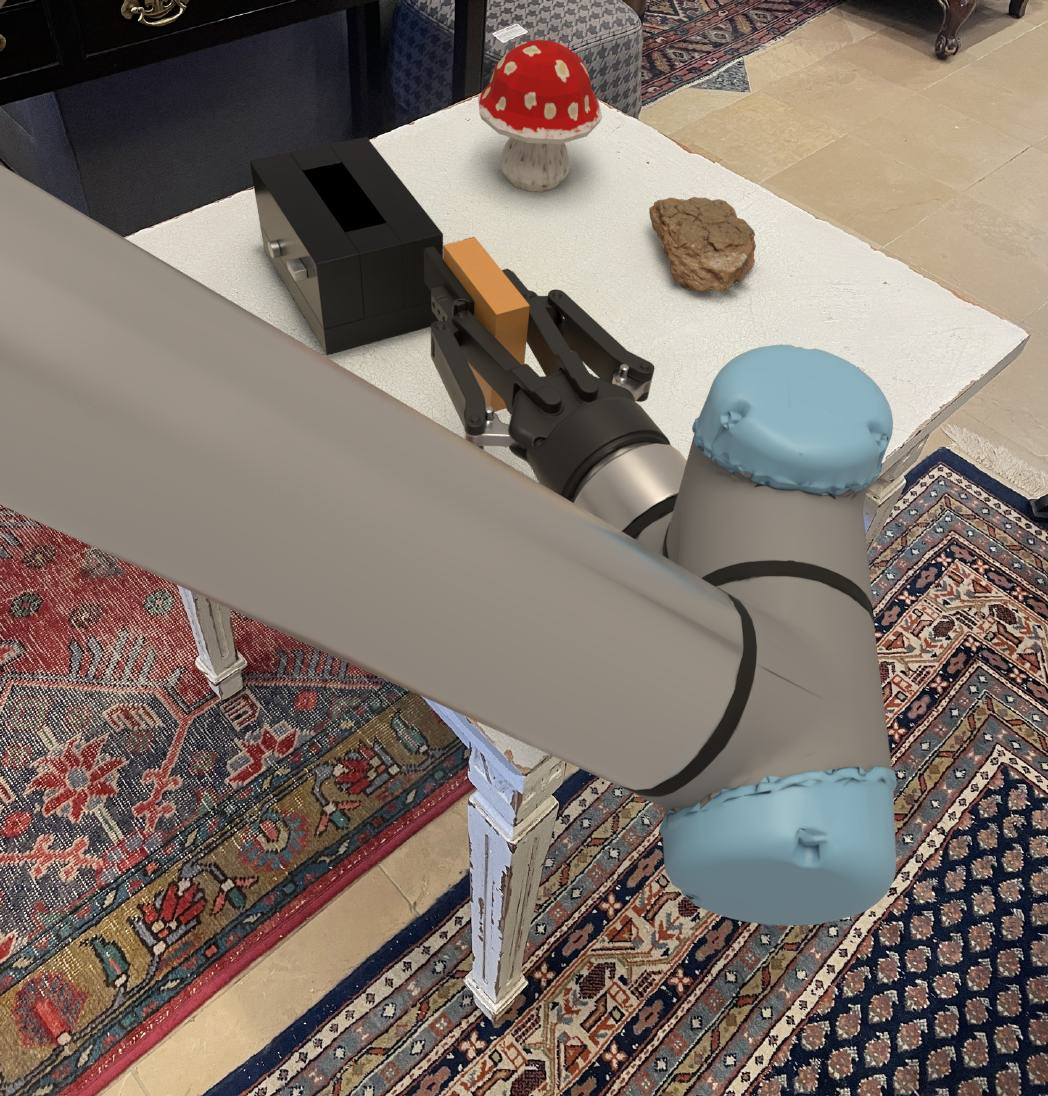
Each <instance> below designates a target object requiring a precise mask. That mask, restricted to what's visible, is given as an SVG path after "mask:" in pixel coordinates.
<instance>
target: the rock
mask: <svg viewBox="0 0 1048 1096" xmlns="http://www.w3.org/2000/svg"><path fill="white" fill-rule="evenodd" d="M648 214H649V219H650V221H651V227H652V229H653V232H655V233H656V236H657V237H658V239H659V240H660V241H661V243H662V248H663V249H662V250H663V252H664V254H665V256H666V257H667V258H668V259H669V260H670V262H669V264H670V265H671V267H670V270H669V273H670V275H671V278H672V279H673V281H674V282H675V283H678V284H679V285H680V286H681V287H683V288H685V289H688V290H690V291H693V292H696V291H697V292H706V291H709V290H713V291H714V292H724V291H728V290H729V289H731V288H732V287H733V286H734V283H740V282H741V281H743V280H744V278H745V276H746V275H747V274H748V273H750V271H751V270H752V269H753V268H754V266H755V262H756V260H755V251H756V248H757V244H756V241H755V235H756V233H755V231H754V229H753V228H752V227H751V225H749V224H748V222H747V221H746V220H745V219H744V218H739V217H738V216H737V212H736V210H735V208H734V207H733V206H732V205H731V204H729V203H728V202H727V200H723V199H720V198H718V199H714V200H712V199H710V198H707V197H697V196H693V197H689V198H688V199H682V198H675V197H668V198H664V199H657V200H656V201H654V202H653V205H651V206H650V207H649V210H648Z"/></svg>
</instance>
